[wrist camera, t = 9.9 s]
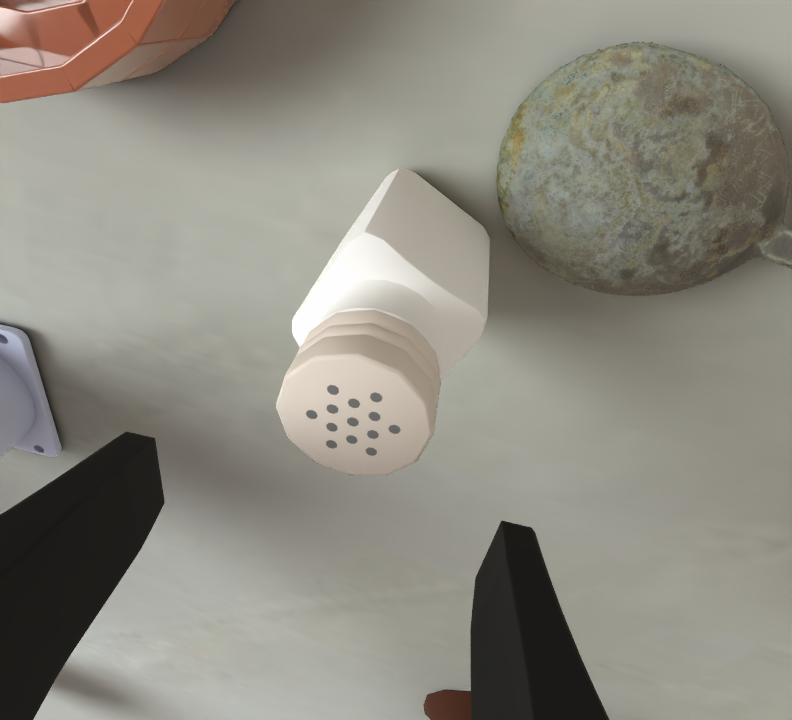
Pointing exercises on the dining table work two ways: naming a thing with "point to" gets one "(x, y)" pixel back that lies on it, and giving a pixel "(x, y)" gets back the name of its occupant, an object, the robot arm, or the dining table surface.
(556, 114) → the soupspoon
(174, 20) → the clay bowl
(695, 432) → the dining table surface
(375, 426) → the pepper shaker
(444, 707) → the brown rounded tall piece
